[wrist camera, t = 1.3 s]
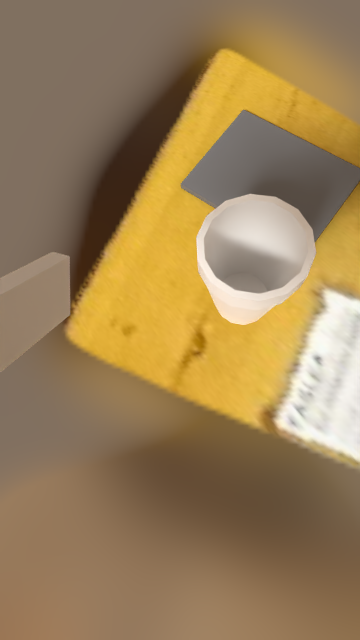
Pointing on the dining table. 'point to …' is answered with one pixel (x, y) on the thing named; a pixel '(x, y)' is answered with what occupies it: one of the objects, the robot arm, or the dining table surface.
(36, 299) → the robot arm
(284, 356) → the dining table surface
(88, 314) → the dining table surface
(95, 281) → the dining table surface
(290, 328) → the dining table surface
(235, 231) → the foam cup
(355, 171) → the rubber mat
